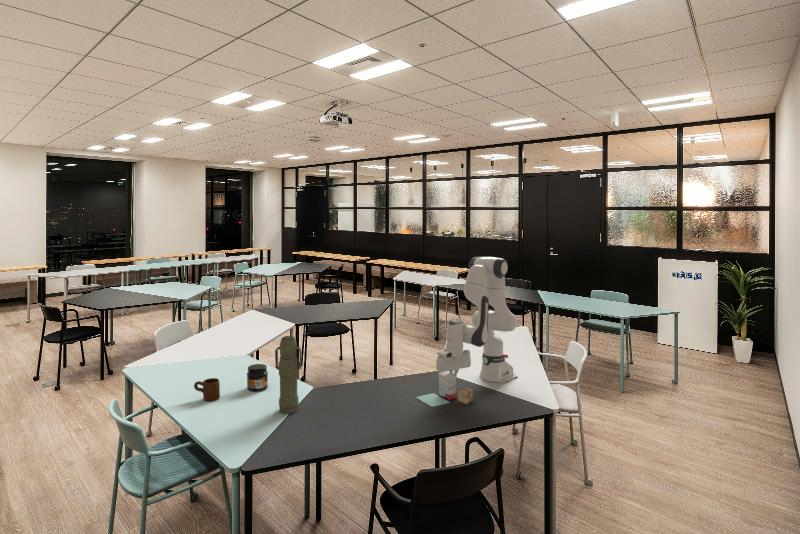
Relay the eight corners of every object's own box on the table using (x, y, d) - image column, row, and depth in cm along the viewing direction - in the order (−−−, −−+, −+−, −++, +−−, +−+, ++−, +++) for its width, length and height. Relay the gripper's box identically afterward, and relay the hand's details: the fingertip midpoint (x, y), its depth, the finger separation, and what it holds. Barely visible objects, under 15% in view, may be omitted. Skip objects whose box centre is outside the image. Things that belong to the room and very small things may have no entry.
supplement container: (259, 393, 234) (259, 370, 233) (242, 390, 238) (242, 368, 237) (271, 386, 244) (271, 364, 243) (255, 384, 248) (255, 362, 247)
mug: (191, 402, 222) (191, 383, 221) (197, 396, 229) (196, 378, 228) (217, 401, 223) (216, 383, 222) (221, 395, 230) (221, 377, 230)
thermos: (276, 407, 218) (275, 335, 214) (301, 405, 220) (301, 334, 216) (274, 414, 209) (273, 340, 206) (301, 413, 211) (300, 339, 208)
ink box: (457, 398, 231) (456, 375, 230) (449, 400, 229) (449, 378, 227) (446, 392, 239) (445, 370, 237) (438, 394, 236) (438, 373, 234)
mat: (433, 393, 238) (433, 393, 237) (450, 402, 226) (450, 402, 226) (415, 397, 232) (415, 397, 232) (431, 407, 220) (431, 406, 220)
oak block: (463, 398, 232) (464, 387, 231) (472, 401, 228) (472, 389, 228) (458, 401, 228) (458, 389, 228) (466, 404, 225) (466, 392, 224)
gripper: (466, 347, 241) (465, 372, 243) (434, 352, 231) (434, 378, 232) (473, 350, 236) (473, 376, 237) (442, 355, 225) (441, 382, 226)
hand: (453, 377), depth 234 cm, fingers closed
